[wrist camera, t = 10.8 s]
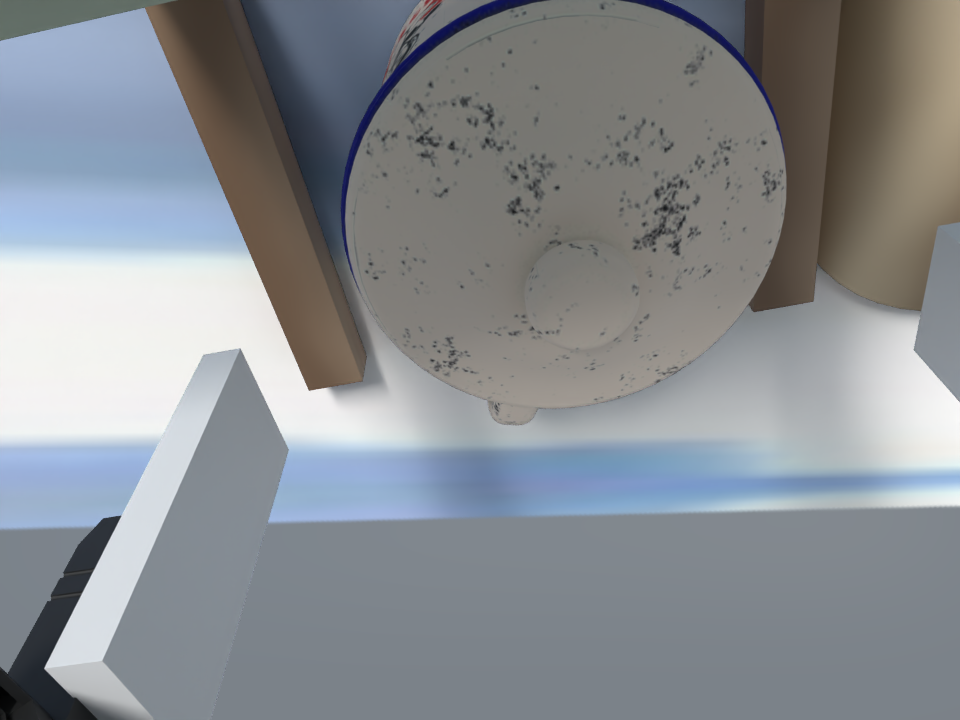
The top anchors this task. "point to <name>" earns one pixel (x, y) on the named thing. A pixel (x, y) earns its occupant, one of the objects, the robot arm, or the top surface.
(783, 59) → the rails
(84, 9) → the small green table
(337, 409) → the top surface
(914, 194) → the trivet
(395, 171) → the teacup with lid
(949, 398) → the top surface
